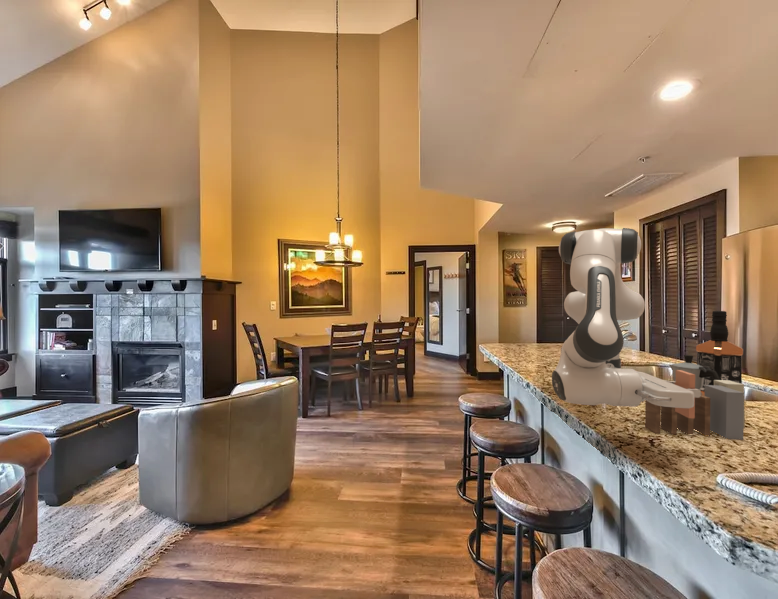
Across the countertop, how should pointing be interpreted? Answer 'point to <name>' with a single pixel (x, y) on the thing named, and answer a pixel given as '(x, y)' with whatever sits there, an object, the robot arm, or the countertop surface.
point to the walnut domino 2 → (669, 419)
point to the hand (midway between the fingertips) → (689, 389)
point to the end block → (726, 411)
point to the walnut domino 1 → (652, 417)
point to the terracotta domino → (686, 382)
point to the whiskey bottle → (720, 352)
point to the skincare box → (731, 387)
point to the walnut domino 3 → (685, 424)
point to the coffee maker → (695, 371)
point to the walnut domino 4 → (702, 415)
